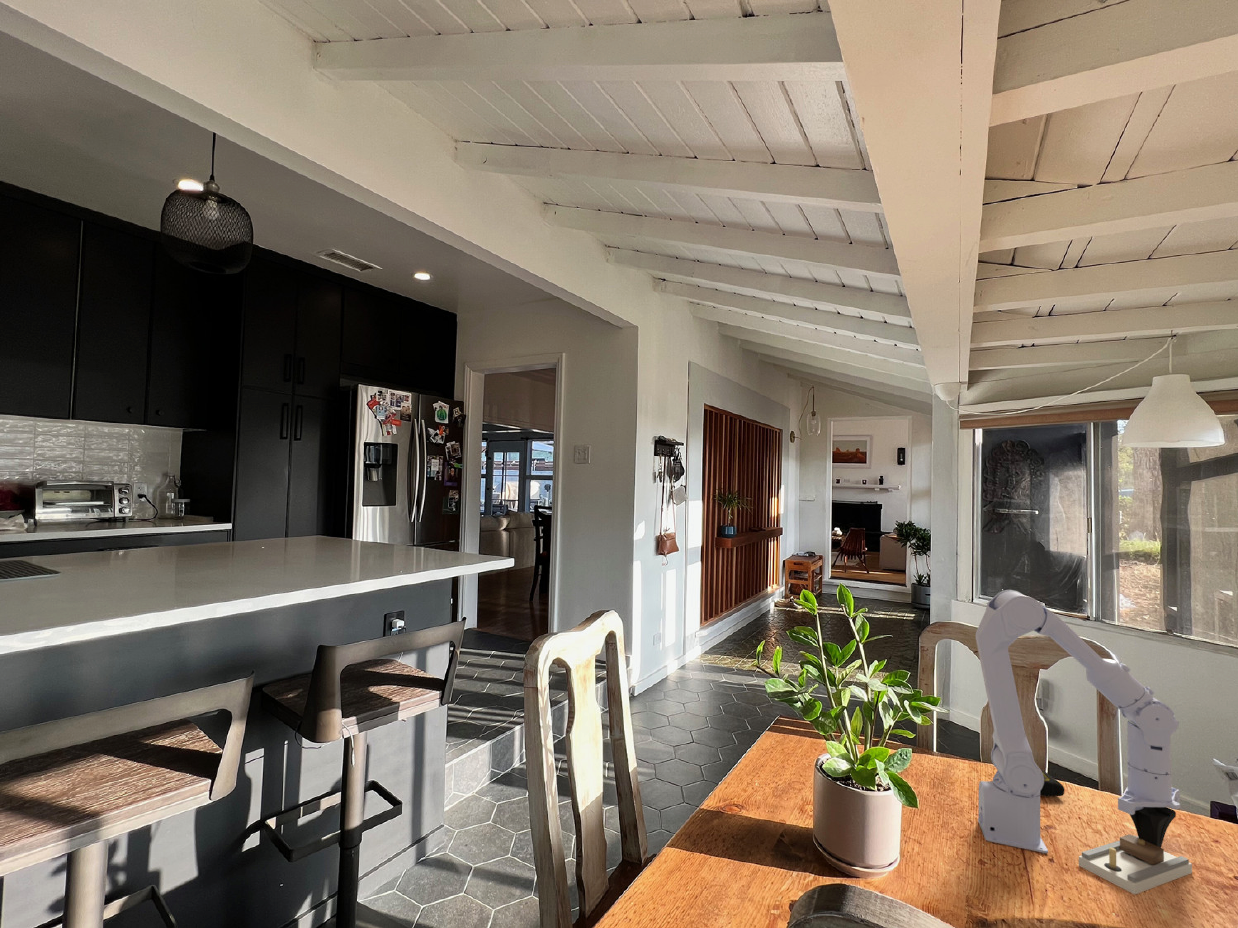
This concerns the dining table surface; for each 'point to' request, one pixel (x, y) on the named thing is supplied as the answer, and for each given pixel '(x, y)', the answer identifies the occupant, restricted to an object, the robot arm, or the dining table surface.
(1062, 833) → the dining table surface
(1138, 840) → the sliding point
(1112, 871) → the plate
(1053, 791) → the tape measure
